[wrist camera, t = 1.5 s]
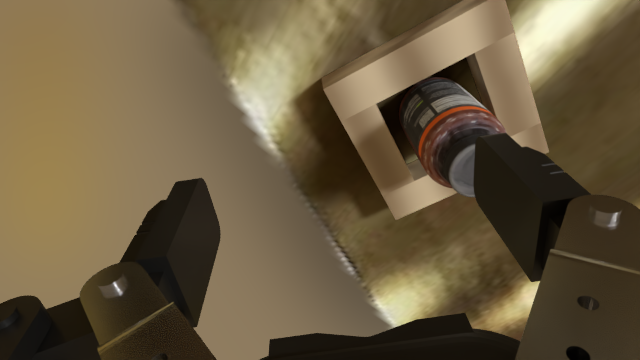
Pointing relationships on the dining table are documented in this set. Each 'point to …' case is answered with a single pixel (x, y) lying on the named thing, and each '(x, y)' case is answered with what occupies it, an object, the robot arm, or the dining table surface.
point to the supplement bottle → (446, 130)
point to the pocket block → (419, 63)
